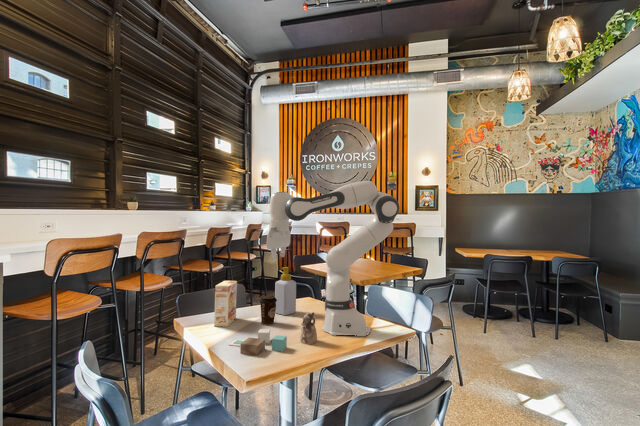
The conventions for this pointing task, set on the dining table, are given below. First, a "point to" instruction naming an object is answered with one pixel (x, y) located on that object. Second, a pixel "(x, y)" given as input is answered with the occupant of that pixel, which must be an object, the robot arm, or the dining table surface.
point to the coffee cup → (268, 309)
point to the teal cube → (279, 343)
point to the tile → (236, 342)
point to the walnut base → (252, 346)
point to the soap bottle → (285, 294)
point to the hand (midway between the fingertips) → (278, 257)
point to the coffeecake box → (225, 303)
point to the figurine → (308, 330)
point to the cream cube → (264, 335)
